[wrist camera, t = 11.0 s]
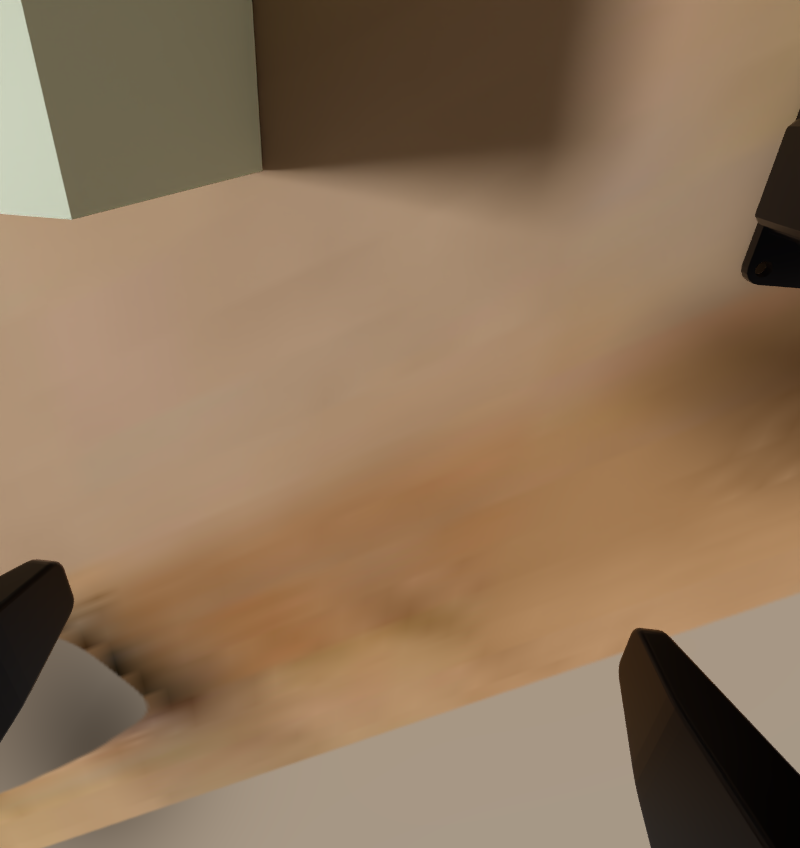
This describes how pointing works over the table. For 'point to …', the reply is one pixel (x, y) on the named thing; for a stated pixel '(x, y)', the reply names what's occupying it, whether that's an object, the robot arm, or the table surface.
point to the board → (123, 101)
